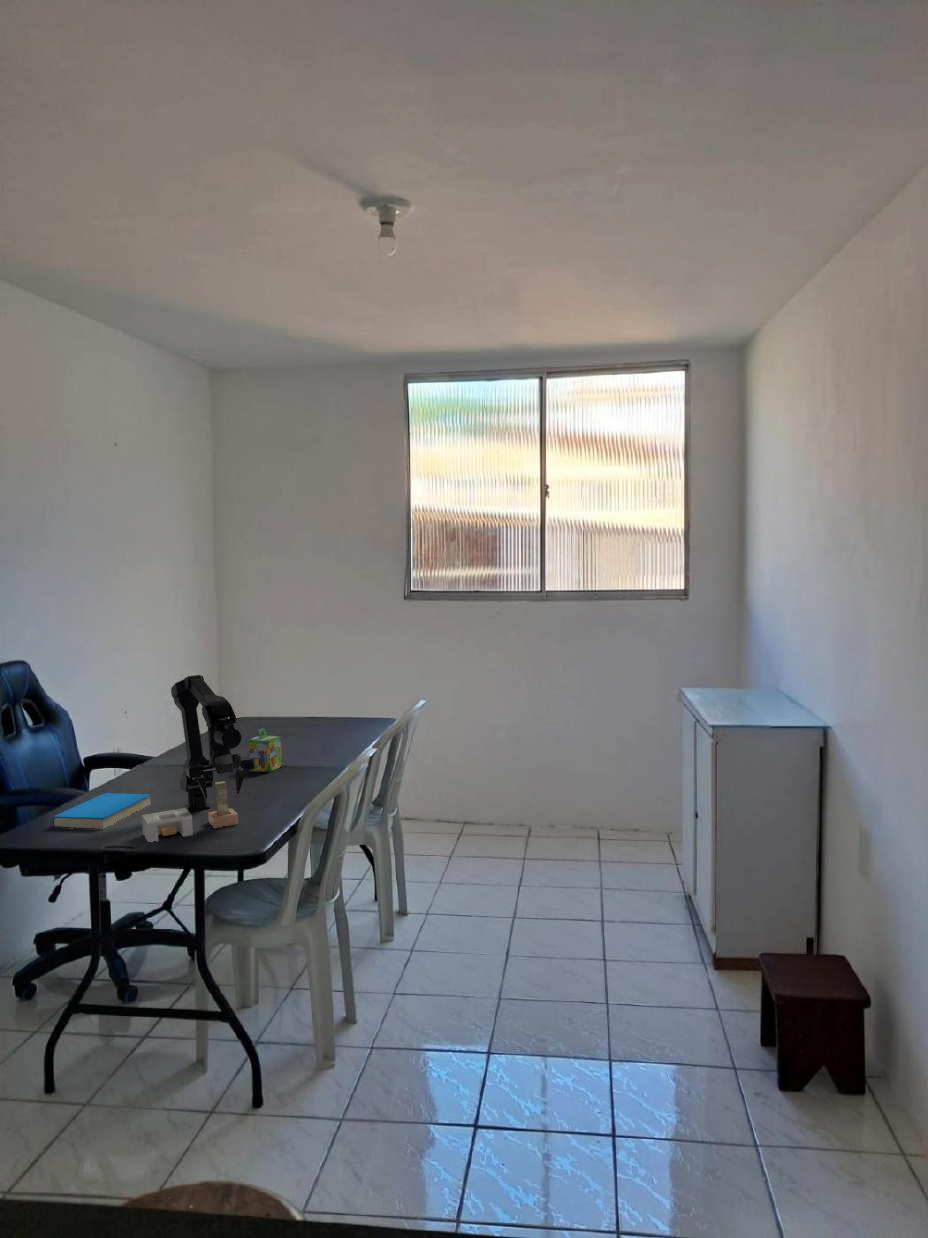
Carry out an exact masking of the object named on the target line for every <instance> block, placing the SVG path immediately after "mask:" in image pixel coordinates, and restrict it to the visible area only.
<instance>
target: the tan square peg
mask: <svg viewBox="0 0 928 1238" xmlns="http://www.w3.org/2000/svg"><path fill="white" fill-rule="evenodd" d="M215 794H216V795H215V796H216V797H215V799H216V800H215V801H216V811H217V816H220V815H226V814H228V809H229V801H228V799H229V798H228V785H227V782H226V781H225V780H224V781H219V782H218V781H217V782H215Z"/></svg>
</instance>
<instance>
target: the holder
mask: <svg viewBox="0 0 928 1238" xmlns="http://www.w3.org/2000/svg"><path fill="white" fill-rule="evenodd" d="M207 814H208V815H207V816H208V818H207V819H208V823H209V825H211V827H212V826H213V827H212V828H213V829H218V828H224V827H223V826H225V827H231V826H235V825H236V826H237V825H239V814H238V812H236V810H235V809H233V808H232V807H231V808H228V814H226V815H220V816H217V810H214V811H208V812H207Z"/></svg>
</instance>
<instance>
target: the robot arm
mask: <svg viewBox="0 0 928 1238" xmlns="http://www.w3.org/2000/svg"><path fill="white" fill-rule="evenodd" d="M172 685H173V686H172V687H171V689H170V692H171V693H170V694H171V697H172V699H173V701H174V702H173V703H174V705H175V706H176V708H178V709H179V711H180V712H181V719H182V727H183V735H184V742H185V748H186V757H187V758H186V760H185V762H184V765H183V767H182V768H183V769H182V770H183V773H182V776H181V778H180V781H179V786H180V790H181V791H183V792H185V793H186V795H187V804H185V805H184V808H186V809H187V810H188V812H194V811H201V810H207V809H210V808H211V806H210V804H208V801H207V800H208V793H207V789H208V788H212V787H213V784H214V772H216V774H217V775H223V774H226V773H230V774H231V773H234V772H235V791H236V794H237V795H239V794H240V791H241V787H242V784H243V781H244V778H245V776H247V774H248V773H250V769H254V768H255V765H254V760H252V759H251V758H250V757H248V755H247V756H242V757H241V754H240V753H233V754H232V751H231V749H233V750H234V749H235V748H237V747H238V746H239V745H240V743H241V741H242V734H241V732H240V731H239V730H238V729H236V728H235V725H234V724H237V720H236V719H237V715H236V713H235V712H234V709H233V706H232V704H231V703H230V702H229V701H228V699H226V698H225V697H223V696H221V695H218V694H216V693H215V692H214V691H213V689H212V688H211V687H210V686H209V685H208V684H207V682H206V681H205V679H204V676H203V675H200V674H196V675H188V676H186V677H184V679H181V680H180V681H177V682H175V683H174V684H172ZM199 705H201V706H202V707H201V713H202V714H201V715H202V717H203V719H204V721H205V723H206V727H207V737H208V738H207V739H208V741H207V742H208V754H209V759H207V758H206V757H205V756H204V752H203V745H202V737H201V730H200V723H199V716H198V707H199Z"/></svg>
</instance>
